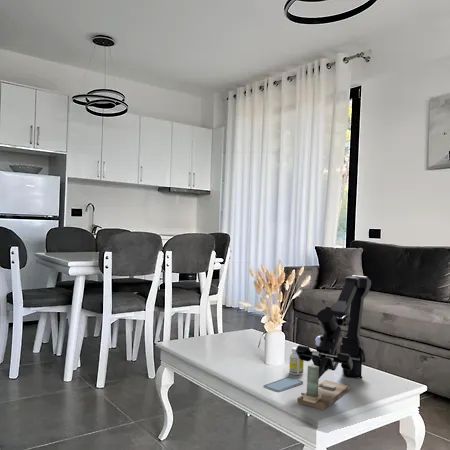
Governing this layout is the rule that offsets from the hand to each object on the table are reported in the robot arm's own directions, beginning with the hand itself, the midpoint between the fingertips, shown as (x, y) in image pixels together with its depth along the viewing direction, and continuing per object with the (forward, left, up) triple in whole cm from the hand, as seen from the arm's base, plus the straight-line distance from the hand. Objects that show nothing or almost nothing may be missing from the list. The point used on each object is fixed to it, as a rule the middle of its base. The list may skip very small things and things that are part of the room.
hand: (316, 379), depth 150 cm
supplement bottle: (+5, -30, -8) cm, 31 cm away
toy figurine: (-6, -48, -8) cm, 49 cm away
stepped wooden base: (-4, -7, -8) cm, 11 cm away
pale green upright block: (+2, +2, -6) cm, 6 cm away
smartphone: (+10, -15, -8) cm, 20 cm away
